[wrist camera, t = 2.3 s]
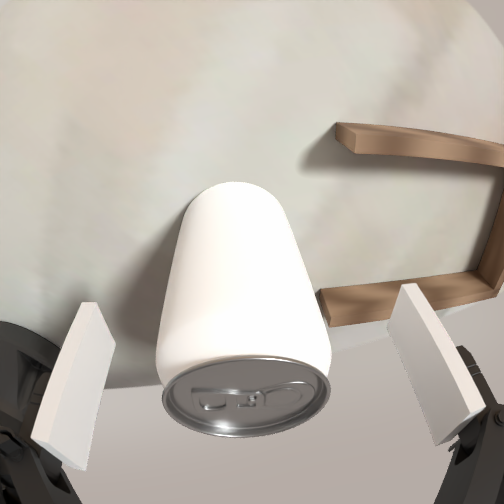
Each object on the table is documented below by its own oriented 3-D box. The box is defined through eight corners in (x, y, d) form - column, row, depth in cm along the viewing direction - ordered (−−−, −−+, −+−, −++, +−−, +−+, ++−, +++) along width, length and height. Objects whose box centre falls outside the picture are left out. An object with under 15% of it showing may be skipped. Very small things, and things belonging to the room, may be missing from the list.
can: (282, 269, 21) (321, 434, 11) (186, 271, 21) (168, 441, 11) (290, 178, 18) (368, 338, 8) (178, 180, 17) (124, 348, 7)
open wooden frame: (319, 298, 23) (329, 327, 21) (336, 122, 16) (356, 134, 14) (479, 277, 24) (496, 296, 22) (519, 148, 17) (543, 162, 14)
